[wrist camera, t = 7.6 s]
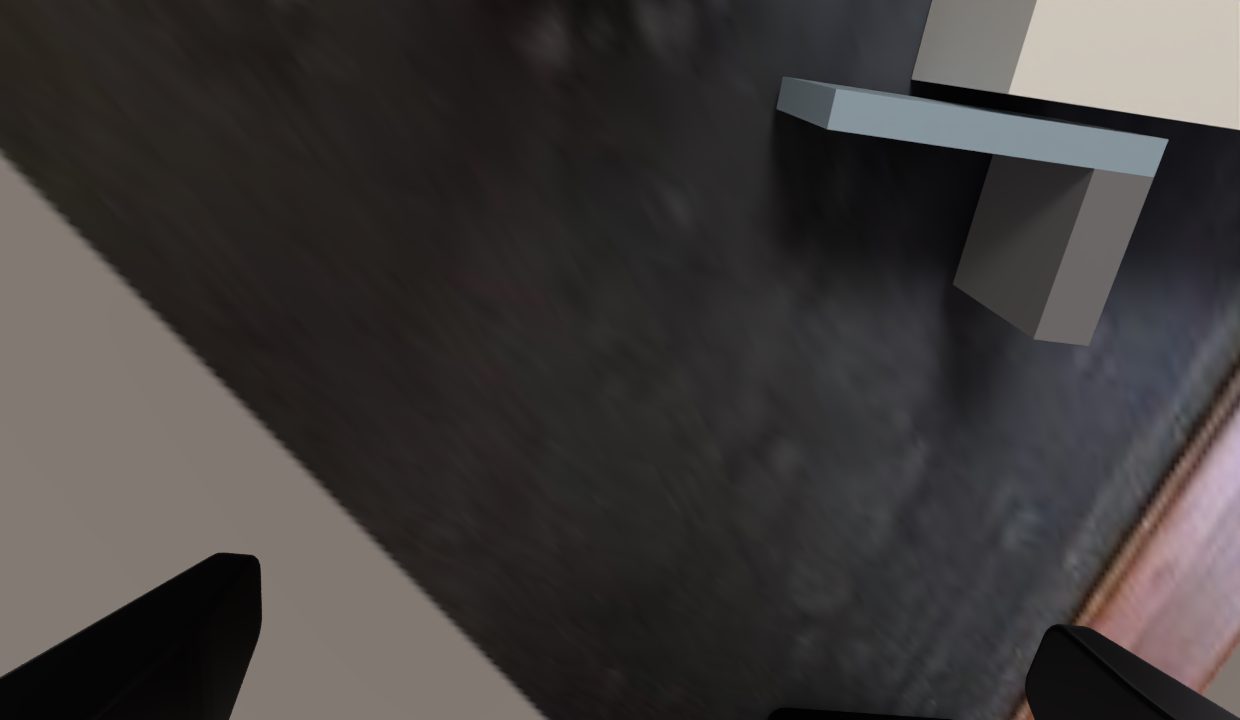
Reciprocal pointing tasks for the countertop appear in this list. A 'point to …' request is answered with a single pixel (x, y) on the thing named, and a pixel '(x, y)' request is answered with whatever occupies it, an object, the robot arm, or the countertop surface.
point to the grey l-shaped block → (1018, 198)
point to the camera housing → (1093, 54)
